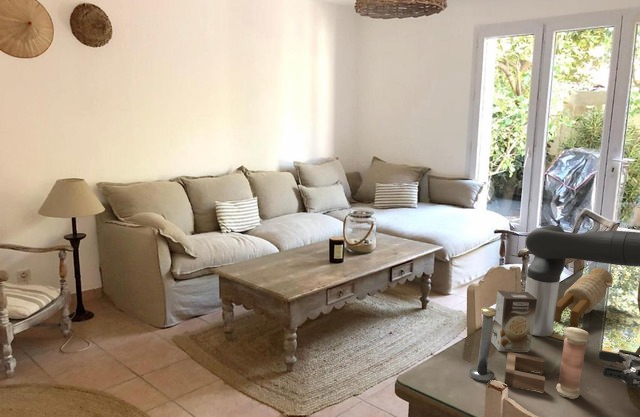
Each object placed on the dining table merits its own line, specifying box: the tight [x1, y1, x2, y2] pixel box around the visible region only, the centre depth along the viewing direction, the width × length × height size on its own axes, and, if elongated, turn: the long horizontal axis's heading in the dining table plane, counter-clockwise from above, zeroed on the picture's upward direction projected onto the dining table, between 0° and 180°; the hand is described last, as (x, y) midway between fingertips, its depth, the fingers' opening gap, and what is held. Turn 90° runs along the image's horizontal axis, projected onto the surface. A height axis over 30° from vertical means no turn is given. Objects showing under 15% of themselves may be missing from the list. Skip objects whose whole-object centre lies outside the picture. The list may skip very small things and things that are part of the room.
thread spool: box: [555, 326, 590, 397], centre depth 123 cm, size 5×5×16 cm
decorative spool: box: [554, 267, 614, 328], centre depth 174 cm, size 10×12×30 cm
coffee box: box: [490, 290, 537, 353], centre depth 146 cm, size 9×6×16 cm
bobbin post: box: [469, 306, 496, 383], centre depth 129 cm, size 6×6×18 cm
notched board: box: [503, 352, 546, 393], centre depth 130 cm, size 12×9×4 cm
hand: (600, 362), depth 120 cm, fingers open, 8 cm apart
